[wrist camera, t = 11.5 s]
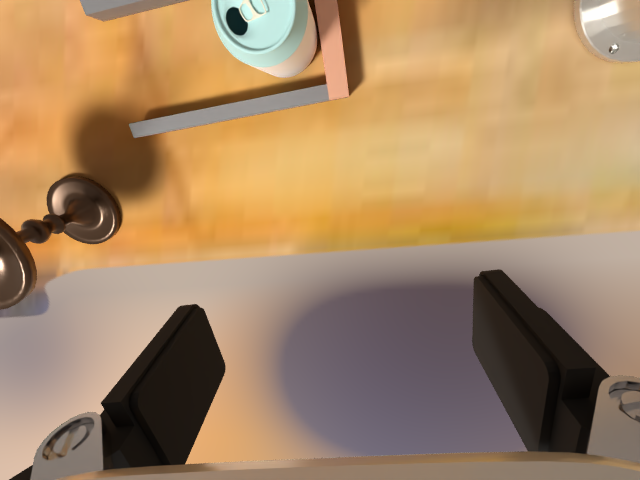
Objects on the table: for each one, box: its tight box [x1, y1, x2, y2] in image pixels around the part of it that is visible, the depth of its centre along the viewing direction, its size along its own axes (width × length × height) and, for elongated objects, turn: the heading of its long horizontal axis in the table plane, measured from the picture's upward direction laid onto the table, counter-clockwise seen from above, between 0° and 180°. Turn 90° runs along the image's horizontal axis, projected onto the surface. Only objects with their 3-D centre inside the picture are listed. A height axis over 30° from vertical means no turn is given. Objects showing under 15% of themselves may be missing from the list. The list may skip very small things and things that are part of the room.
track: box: [80, 0, 349, 138], centre depth 31 cm, size 24×13×3 cm, turn 100°
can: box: [211, 0, 317, 78], centre depth 26 cm, size 7×7×12 cm
